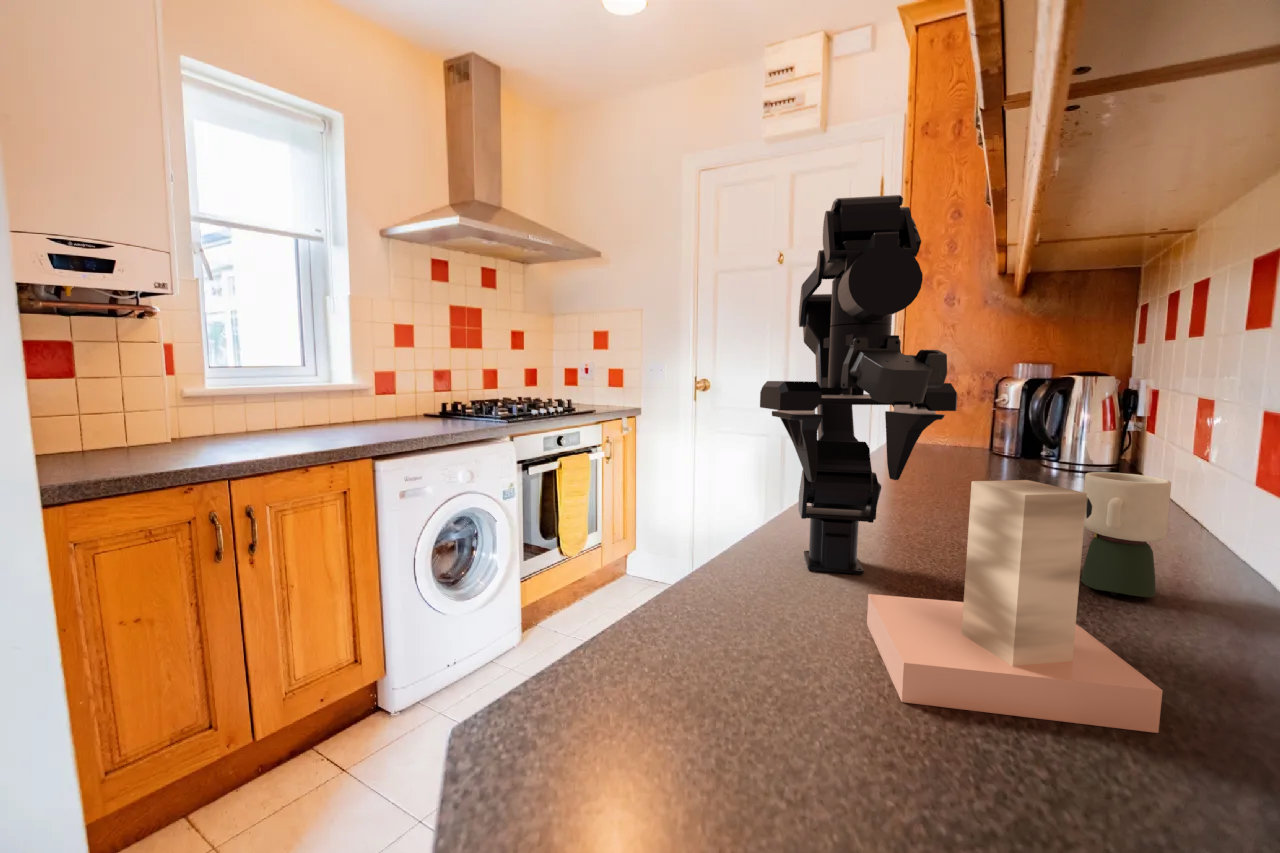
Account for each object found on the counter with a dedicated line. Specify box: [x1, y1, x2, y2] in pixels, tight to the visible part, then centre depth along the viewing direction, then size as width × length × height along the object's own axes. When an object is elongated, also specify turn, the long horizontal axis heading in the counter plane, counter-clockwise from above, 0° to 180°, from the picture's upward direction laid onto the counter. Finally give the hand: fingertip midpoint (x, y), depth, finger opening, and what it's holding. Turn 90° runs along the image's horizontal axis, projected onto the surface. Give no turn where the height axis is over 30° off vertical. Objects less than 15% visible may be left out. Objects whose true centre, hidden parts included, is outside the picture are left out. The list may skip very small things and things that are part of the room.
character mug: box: [1080, 471, 1172, 598], centre depth 61 cm, size 11×7×13 cm, turn 129°
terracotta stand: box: [866, 593, 1164, 734], centre depth 45 cm, size 13×16×3 cm
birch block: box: [962, 479, 1087, 666], centre depth 42 cm, size 5×5×12 cm
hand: (853, 480), depth 57 cm, fingers open, 9 cm apart
